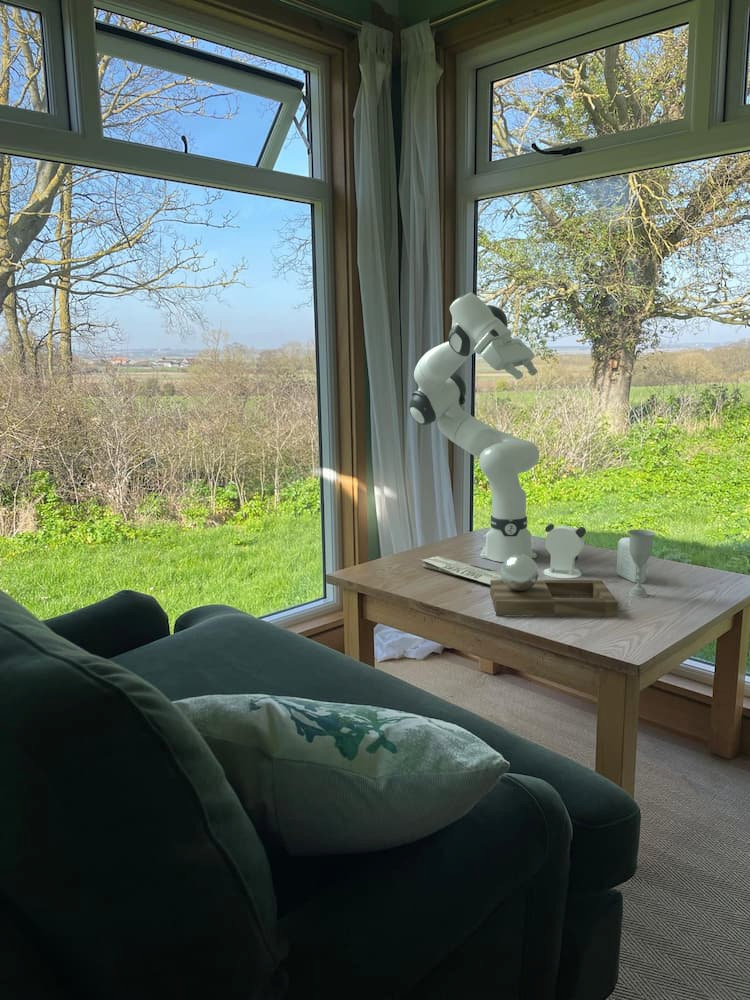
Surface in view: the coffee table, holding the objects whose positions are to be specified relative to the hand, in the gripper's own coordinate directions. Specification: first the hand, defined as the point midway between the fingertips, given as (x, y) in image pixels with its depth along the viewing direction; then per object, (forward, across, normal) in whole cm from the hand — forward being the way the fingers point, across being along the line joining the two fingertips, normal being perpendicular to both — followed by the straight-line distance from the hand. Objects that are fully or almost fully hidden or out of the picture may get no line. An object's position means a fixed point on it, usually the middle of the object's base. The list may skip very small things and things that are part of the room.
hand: (528, 375), depth 194 cm
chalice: (+64, -9, -23) cm, 69 cm away
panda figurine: (+48, -17, -41) cm, 65 cm away
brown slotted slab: (+51, +11, -34) cm, 62 cm away
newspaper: (+31, 0, -58) cm, 65 cm away
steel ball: (+39, +15, -33) cm, 53 cm away
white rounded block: (+61, -23, -28) cm, 71 cm away
